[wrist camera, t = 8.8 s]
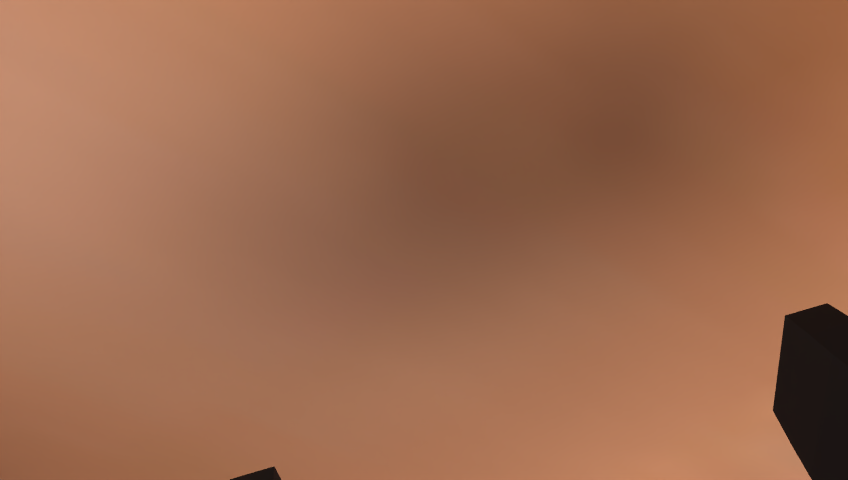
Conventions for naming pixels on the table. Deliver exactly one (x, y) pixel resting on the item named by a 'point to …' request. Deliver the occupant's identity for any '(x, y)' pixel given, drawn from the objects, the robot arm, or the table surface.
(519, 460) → the table surface
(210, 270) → the table surface
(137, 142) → the table surface
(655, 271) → the table surface
